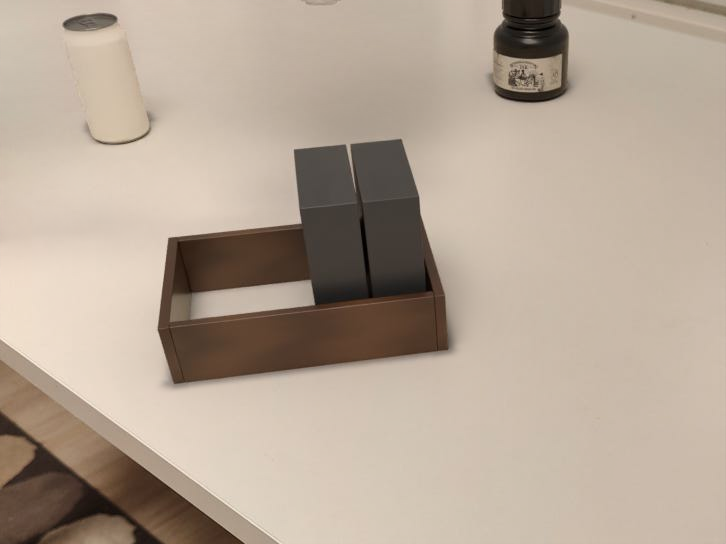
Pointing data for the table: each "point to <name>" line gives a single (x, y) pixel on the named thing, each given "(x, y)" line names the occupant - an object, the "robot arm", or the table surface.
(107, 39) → the can
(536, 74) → the ink bottle
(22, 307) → the table surface
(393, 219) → the charcoal box
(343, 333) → the brown wooden tray
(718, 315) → the table surface
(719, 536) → the table surface
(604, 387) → the table surface
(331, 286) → the charcoal box
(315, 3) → the photo printer
